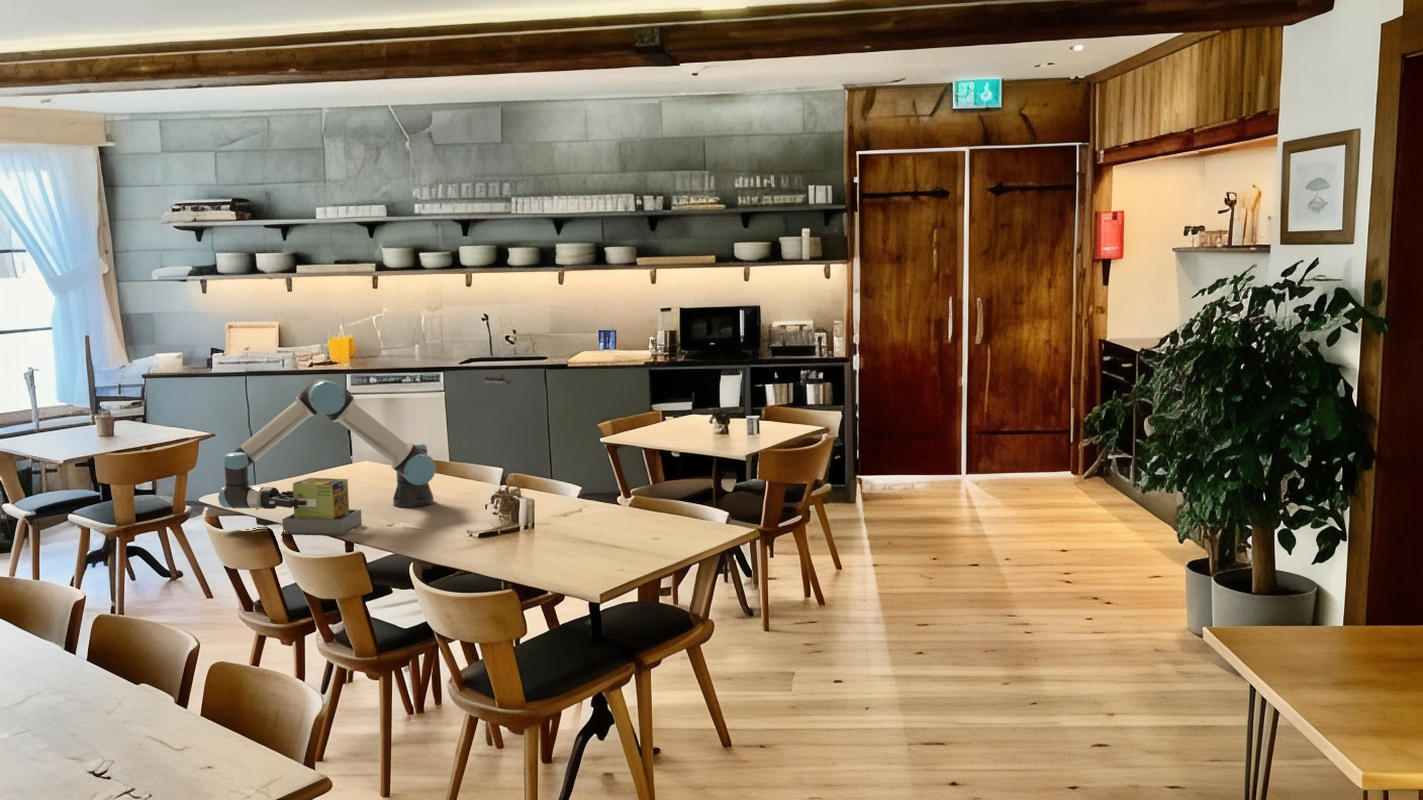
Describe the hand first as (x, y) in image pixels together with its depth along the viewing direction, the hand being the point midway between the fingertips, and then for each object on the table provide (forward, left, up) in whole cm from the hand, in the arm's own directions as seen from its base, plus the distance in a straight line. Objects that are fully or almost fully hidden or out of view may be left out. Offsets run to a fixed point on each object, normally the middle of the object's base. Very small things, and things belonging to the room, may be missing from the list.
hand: (324, 499), depth 375 cm
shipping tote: (+1, 0, -11) cm, 11 cm away
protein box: (+1, 0, -9) cm, 9 cm away
